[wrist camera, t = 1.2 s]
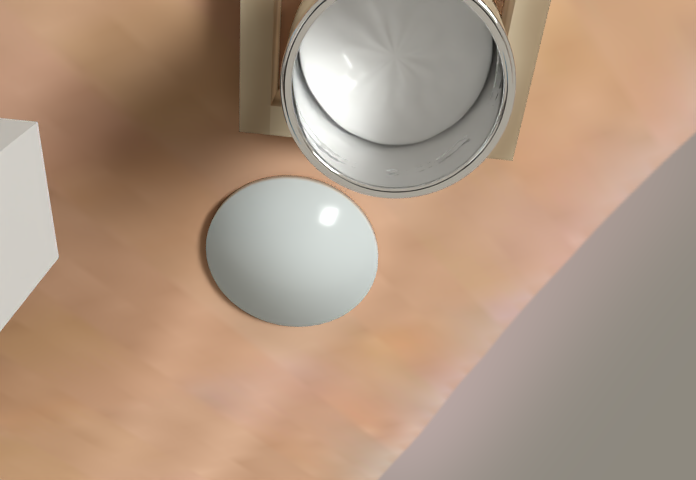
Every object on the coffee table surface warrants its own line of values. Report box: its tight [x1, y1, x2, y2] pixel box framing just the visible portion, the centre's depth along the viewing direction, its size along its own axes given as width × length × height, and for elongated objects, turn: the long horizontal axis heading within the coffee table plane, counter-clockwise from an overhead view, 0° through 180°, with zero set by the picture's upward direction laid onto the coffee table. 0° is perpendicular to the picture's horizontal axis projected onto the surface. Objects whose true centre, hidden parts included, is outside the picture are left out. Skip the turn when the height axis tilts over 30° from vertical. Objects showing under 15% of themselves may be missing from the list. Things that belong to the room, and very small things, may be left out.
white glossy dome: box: [206, 175, 378, 327], centre depth 39 cm, size 10×10×1 cm
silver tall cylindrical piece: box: [280, 0, 516, 198], centre depth 25 cm, size 7×7×15 cm
